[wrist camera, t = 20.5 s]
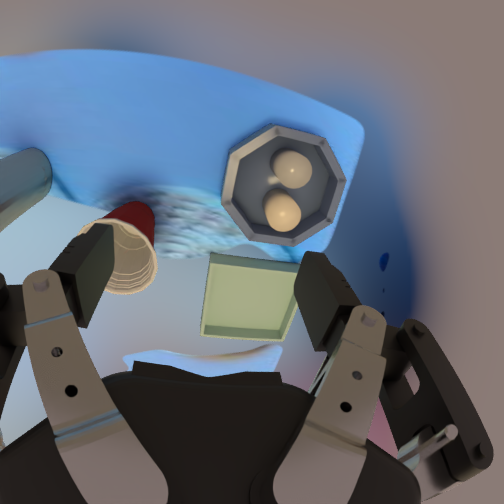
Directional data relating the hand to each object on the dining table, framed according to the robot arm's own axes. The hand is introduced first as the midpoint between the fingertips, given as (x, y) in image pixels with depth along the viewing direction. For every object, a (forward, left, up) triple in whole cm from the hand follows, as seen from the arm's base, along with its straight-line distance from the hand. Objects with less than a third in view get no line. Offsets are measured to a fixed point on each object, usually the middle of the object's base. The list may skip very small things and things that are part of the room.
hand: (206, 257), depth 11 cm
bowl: (+10, -3, -28) cm, 30 cm away
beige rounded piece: (+10, 0, -27) cm, 29 cm away
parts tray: (+10, -24, -28) cm, 38 cm away
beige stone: (+10, -6, -27) cm, 30 cm away
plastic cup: (-10, -12, -28) cm, 32 cm away
